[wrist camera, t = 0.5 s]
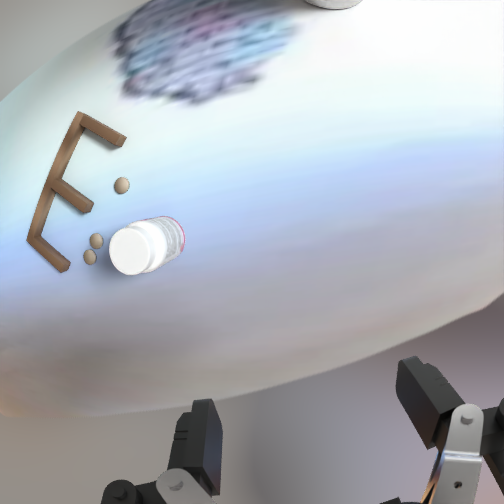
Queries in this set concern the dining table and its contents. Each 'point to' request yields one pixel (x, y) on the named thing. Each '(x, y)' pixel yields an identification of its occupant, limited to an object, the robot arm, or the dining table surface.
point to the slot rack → (70, 190)
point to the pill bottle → (146, 245)
